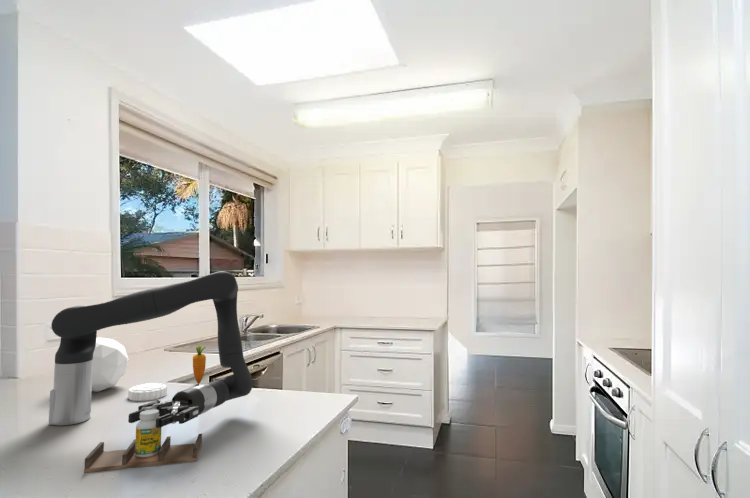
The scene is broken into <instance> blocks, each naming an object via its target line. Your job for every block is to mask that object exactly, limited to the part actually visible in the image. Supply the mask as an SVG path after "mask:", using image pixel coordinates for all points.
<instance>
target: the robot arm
mask: <svg viewBox="0 0 750 498" xmlns="http://www.w3.org/2000/svg"><path fill="white" fill-rule="evenodd" d="M238 293H239V286H238V281H237V279H236V276H234V274H232V273H231V272H228V271H221V270H220V271H216V272H213V273H209V274H206V275H203V276H201V277H197V278H194V279H191V280H187V281H182V282H177V283H176V282H175V283H172V284H167V285H163V286H159V287H158V286H157V287H154V288H152V287H151V288H149V289H144V290H140V291H137V292H133V293H129V294H127V295H123V296H121V297H118V298H115V299H113V300H108V301H106V302H102V303H96V304H91V305H75V306H71V307H67V308H64V309H62V310H61V311H59V312H58V313H57V314H55V316H54V318H53V319H52V320H51V324H50V325H51V326H50V328H51V330H52V332H53V333H54V334H55V336H57V337H59V338H60V344H59V346H58V349H57V351H56V352H55V354H54V369H53V370H54V375H53V389H51V390H50V391H49V404H48V405H49V406H48V408H49V409H48V410H49V411H48V425H52V426H53V425H54V426H69V425H75V424H80V423H83V422H85V421H88V420H90V418H91V413H92V392H93V391H92V371H93V353H94V350H95V346H96V338H97V333H98V331H100V330H103V329H107V328H110V327H115V326H121V325H123V326H124V325H129V324H135V323H140V322H146V321H150V320H155V319H157V318H161V317H165V316H168V315H171V314H173V313H175V312H177V311H179V310H181V309H183V308H185V307H187V306H189V305H191V304H195V303H198V302H204V301H209V300H210V301H211V300H212V301H213V305H214V307H215V313H216V318H217V319H216V320H217V347H218V348H217V349H218V356H219V364H220V366H221V367H222V368H227V369H229V368H230V369H231V372H232V373H233V374H230V375H227V376H222V377H221V378H218V379H217V380H213V381H209V382H207V383H204V384H198V385H195V386H192V387H189V388H187V389H184V390H181V391H177V392H176V393H175V394H174V396H173V397H172V398H171V400H165V401H164V402H161V400H160V399H159V400H158V399H156V400H153V401H150V402H148V403H144V404H142V405H138V409H137V410H135V411H133V412H130V413H129V414H128V419H127V420H128V423H129V424H134V423H136V422H137V423H138V422H139V421H141V420H140V413H141V412H142V411H145V410H152V409H155V410H159V416H158V418H157V419H156V428H161V427H162V428H163V427H165V426H167V425H170V424H171V425H172V424H173V425H174V424H177V423H178V424H179V425H180V424H181V425H182V424H185V423H187V422H189V421H191V420H193V419H195V418H197V417H199V416H201V415H202V414H205V413H206V412H207V413H208V412H209V411H210V410H211V409H214V408H217V407H219V406H221V405H223V404H224V403H225V402H227V401H230V400H234V399H238V398H241V397H245V396H248V395H249V394H250V393H251V392H252V389H253V386H254V385H253V383H254V381H253V377H252V374H251V372H250V370H249V368H248V365H247V362H246V360H245V358H244V350H243V344H242V337H241V331H240V325H239V321H238V309H237V308H238ZM162 428H161V429H162Z"/></svg>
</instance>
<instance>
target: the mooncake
mask: <svg viewBox="0 0 750 498" xmlns="http://www.w3.org/2000/svg"><path fill="white" fill-rule="evenodd" d="M167 394H168V386H167V385H166V384H165V383H161V382H147V383H145V382H144V383H142V384H137V385H134V386H131V387H130V388H128V393H127V398H128V400H130V401H134V402H138V401H139V402H143V401H144V402H145V401H146V402H148V401H155V400H158V399H160V398H163V397H164V396H166V395H167Z"/></svg>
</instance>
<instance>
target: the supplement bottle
mask: <svg viewBox="0 0 750 498" xmlns="http://www.w3.org/2000/svg"><path fill="white" fill-rule="evenodd" d="M158 416H159V410H155V409H152V410H145V411H142V412H141V413H140V420H139V421H137V423H136V426H135V439H136V444H135V455H136V456H137V457H141V458H143V457H151V456H154V455H156V454H158V452H159V450H160V448H161V446H162V428H163V427H161V428H156V419H157V418H158Z"/></svg>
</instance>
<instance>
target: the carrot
mask: <svg viewBox="0 0 750 498" xmlns="http://www.w3.org/2000/svg"><path fill="white" fill-rule="evenodd" d="M195 349H196V352H197V353H196V354H194V355H193V356H192V370H193V376H194V378H195V381H196V383H197V384H198V385H200V383H201V382H202V380H203V378H204V376H205V375H204V374H205V370H206V364H207V363H206V361H207V356H206V355H205V353H204V354H203V353H202V352H203V351H204V350H205V349H207V347H205V346H204V347H202V345H197V346H196V347H195Z"/></svg>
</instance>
